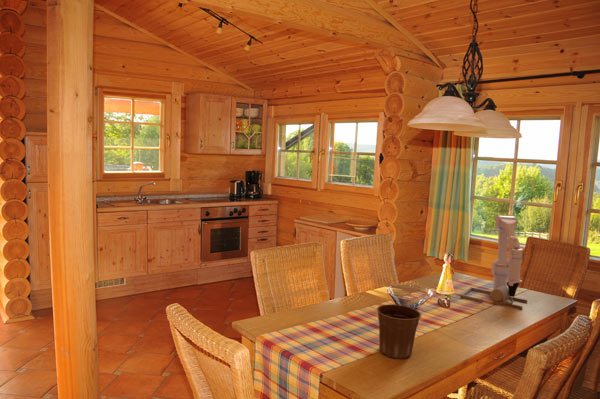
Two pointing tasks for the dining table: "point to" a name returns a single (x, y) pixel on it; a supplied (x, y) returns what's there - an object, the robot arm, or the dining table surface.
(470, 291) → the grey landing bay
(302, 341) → the dining table surface
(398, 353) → the plant pot
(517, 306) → the walnut dock
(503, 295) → the speckled coffee cup
